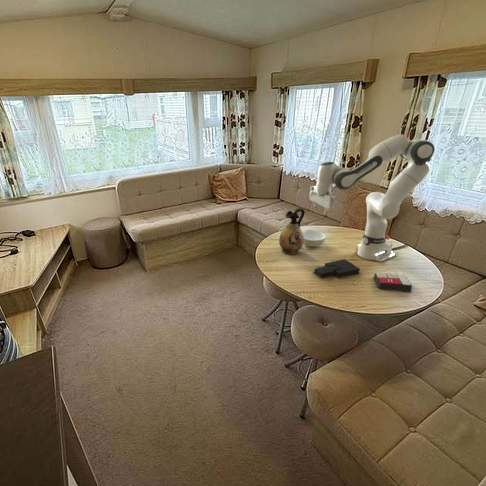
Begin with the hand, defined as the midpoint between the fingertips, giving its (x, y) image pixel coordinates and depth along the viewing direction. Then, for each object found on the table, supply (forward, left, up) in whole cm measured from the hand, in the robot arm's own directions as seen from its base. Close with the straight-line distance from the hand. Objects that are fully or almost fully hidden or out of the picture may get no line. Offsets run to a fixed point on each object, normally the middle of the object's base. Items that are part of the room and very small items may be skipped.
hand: (320, 211), depth 185 cm
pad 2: (+1, +27, -27) cm, 38 cm away
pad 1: (+11, +27, -27) cm, 40 cm away
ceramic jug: (+15, -4, -27) cm, 31 cm away
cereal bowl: (-3, -8, -27) cm, 29 cm away
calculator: (-14, +48, -27) cm, 57 cm away
